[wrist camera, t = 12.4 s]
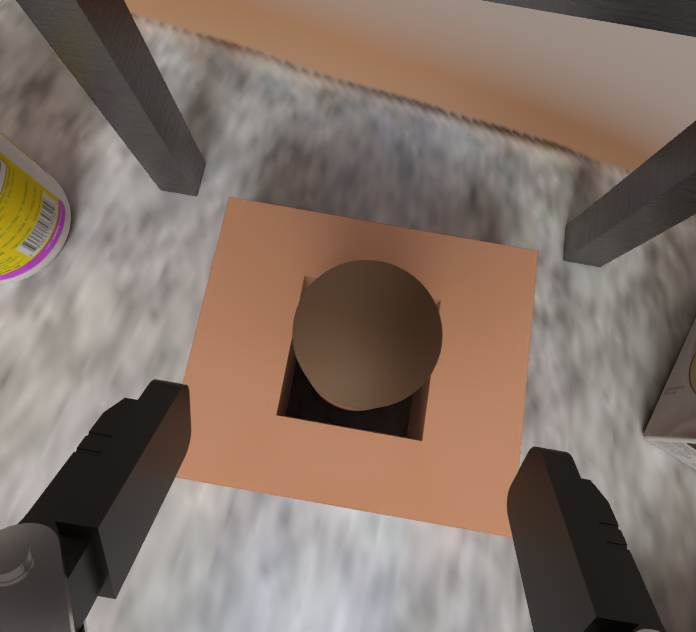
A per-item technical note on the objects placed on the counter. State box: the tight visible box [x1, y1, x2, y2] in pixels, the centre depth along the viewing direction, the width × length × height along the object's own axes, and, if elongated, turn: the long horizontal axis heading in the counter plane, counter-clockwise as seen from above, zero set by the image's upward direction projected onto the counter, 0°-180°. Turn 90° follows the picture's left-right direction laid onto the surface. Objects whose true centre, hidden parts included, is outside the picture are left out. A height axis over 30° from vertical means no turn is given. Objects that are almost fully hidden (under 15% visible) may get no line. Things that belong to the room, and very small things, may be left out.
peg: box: [292, 260, 443, 412], centre depth 18 cm, size 4×4×10 cm
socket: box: [176, 197, 538, 538], centre depth 21 cm, size 14×12×4 cm
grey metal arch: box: [16, 0, 696, 267], centre depth 14 cm, size 24×8×21 cm, turn 80°
